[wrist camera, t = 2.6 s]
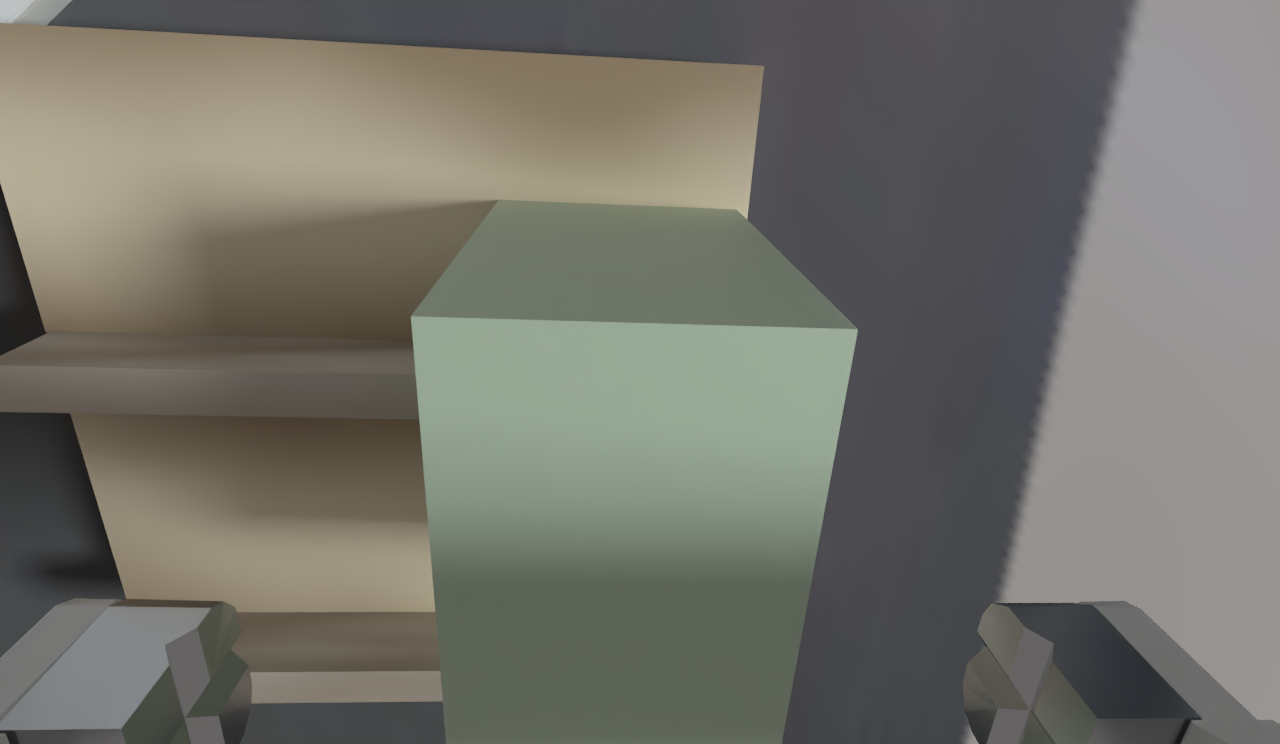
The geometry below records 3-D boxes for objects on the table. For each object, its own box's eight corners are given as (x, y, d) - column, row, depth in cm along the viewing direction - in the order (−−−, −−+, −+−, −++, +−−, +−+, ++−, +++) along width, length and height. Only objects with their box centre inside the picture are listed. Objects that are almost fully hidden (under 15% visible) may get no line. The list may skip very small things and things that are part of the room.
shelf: (49, 27, 12) (-158, 12, 9) (740, 66, 13) (789, 64, 10) (191, 582, 17) (90, 708, 13) (689, 582, 18) (711, 702, 14)
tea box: (507, 524, 14) (452, 814, 9) (498, 199, 12) (410, 315, 6) (710, 526, 14) (781, 807, 9) (745, 210, 12) (873, 329, 6)
